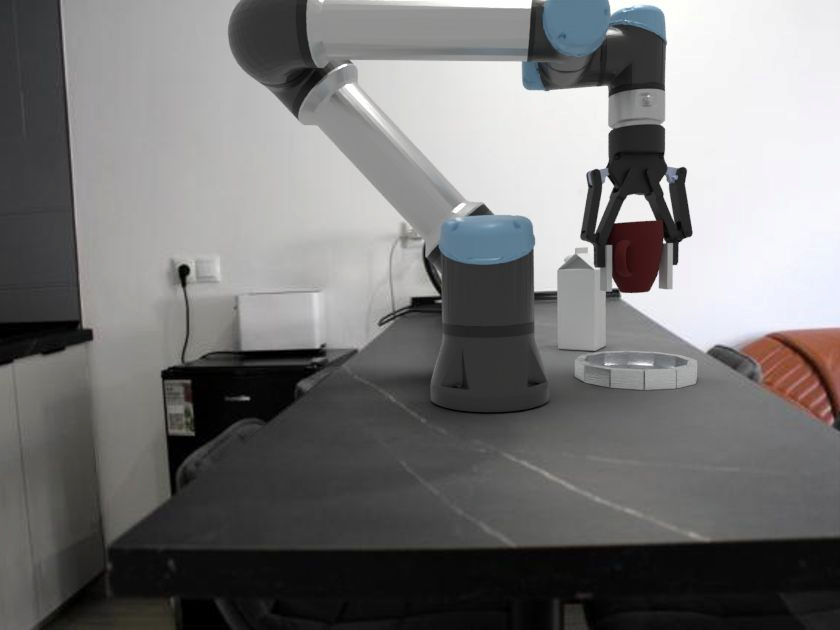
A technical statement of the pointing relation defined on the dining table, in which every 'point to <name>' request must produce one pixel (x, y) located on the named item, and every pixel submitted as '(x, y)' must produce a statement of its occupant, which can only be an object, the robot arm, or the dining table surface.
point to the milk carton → (580, 304)
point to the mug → (636, 254)
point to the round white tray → (636, 370)
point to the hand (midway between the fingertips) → (635, 289)
